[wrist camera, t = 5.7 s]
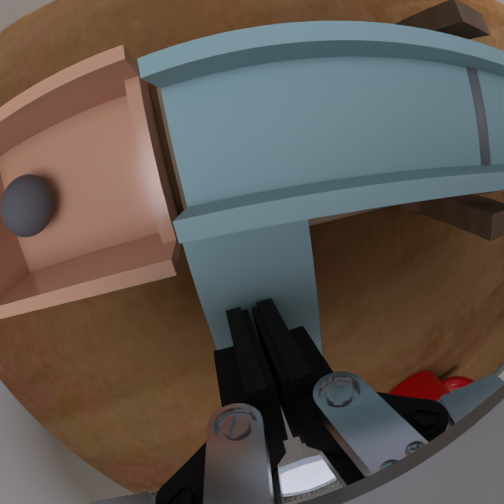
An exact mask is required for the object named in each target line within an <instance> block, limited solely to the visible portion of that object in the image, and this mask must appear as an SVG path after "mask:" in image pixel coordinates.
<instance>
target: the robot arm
mask: <svg viewBox="0 0 504 504" xmlns="http://www.w3.org/2000/svg"><path fill="white" fill-rule="evenodd" d="M256 305H257V306H256V307H252V313H253V317H254V321H255V325H256V329H257V333H258V337H259V340H258V337H257V334H256V332H255V329H254V326H253V323H252V321H251V318H250V315H249V312H248V310H247V309H245V310H241V308H240V307H237V308H233V309H229V310H226V315H227V320H228V324H229V329H230V333H231V337H232V341H233V346H231V347H227V348H223V349H219V350H215V351H214V358H215V365H216V372H217V379H218V385H219V391H220V398H221V404H222V408H220V409H219V410H217V411H216V412H215V413H214V414H213V415H212V417H211V418H210V420H209V423H208V426H207V441H206V442H205V443H204V445H203V446H202V447H201V448H200V449H199V450H198V451H197V452H196V453H195V454H194V455H193V456H192V457H191V458H190V459H189V460H188V461H187V462H186V463H185V464H184V465H183V466H182V467H181V468H180V469H179V470H178V471H177V472H176V473H175V474H174V475H173V476H172V477H171V478H170V479H169V480H168V481H167V482H166V483H165V484H164V485H163V486H162V487H161V488H160V490H159V491H157V492H153V493H151V492H149V491H145V492H141V493H136V494H132V495H127V496H121V497H116V498H110V499H103V500H96V501H93V502H91V503H90V504H284V500H283V492H282V484H281V477H280V469H279V465H278V464H279V463H280V461H281V460H282V458H283V457H284V455H285V454H286V449H285V446H284V442H283V441H285V440H288V436H287V431H286V427H285V423H284V419H283V415H282V411H283V414H284V416H285V419H286V421H287V424H288V427H289V429H290V432H291V434H292V437H293V438H295V437H298V436H299V438H300V440H301V442H302V444H304V443H305V445H306V446H307V447H310V448H313V449H317V450H318V452H319V454H320V456H321V457H322V459H323V460H324V462H325V463H326V464H327V466H328V467H329V469H330V470H331V471H332V473H333V474H334V475H335V477H336V478H337V480H338V481H339V482H340V484H341V485H342V486H343V488H341V489H338V490H336V491H333V492H330V493H328V494H325V495H322V496H319V497H317V498H313V499H310V500H307V501H304V502H301V503H298V504H504V382H503V381H502V380H501V379H500V378H498V377H496V376H486V377H483V378H481V379H479V380H477V381H475V382H473V383H470V384H468V385H466V386H464V387H462V388H459V389H457V390H455V391H452V392H450V393H448V394H445V395H443V396H441V398H440V400H437V401H434V400H430V399H422V398H414V397H406V396H399V395H392V394H386V393H380V392H375V391H374V390H373V389H372V388H371V387H370V386H369V385H368V384H367V383H366V382H365V381H364V380H363V379H362V378H360V377H359V376H357V375H356V374H353V373H350V372H334V373H333V371H332V370H331V368H330V367H329V365H328V364H327V362H326V360H325V359H324V357H323V356H322V354H321V353H320V351H319V350H318V348H317V346H316V345H315V343H314V342H313V340H312V339H311V337H310V335H309V334H308V332H307V331H306V329H305V328H304V327H303V326H300V327H297V328H294V329H291V330H289V329H288V328H287V326H286V324H285V322H284V320H283V319H282V317H281V315H280V313H279V311H278V309H277V308H276V306H275V304H274V302H273V300H272V299H271V298H269V299H266V300H262V301H259V302H256ZM259 341H260V342H259ZM281 408H282V410H281Z"/></svg>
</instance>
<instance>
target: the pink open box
mask: <svg viewBox="0 0 504 504" xmlns="http://www.w3.org/2000/svg"><path fill="white" fill-rule="evenodd" d="M26 174H32V175H36V176H39V177H41V178H42V179H44V180H45V181H46V182H47V183H48V185H49V186H50V188H51V190H52V193H53V197H54V210H53V214H52V217H51V220H50V222H49V223H48V225H47V226H46V227H45V229H44V230H42V231H41V232H40V233H39V234H37V235H35V236H32V237H19V236H16V235H15V234H13V233H11V232H10V231H9V230H8V229H7V227H6V226H5V224H4V222H3V220H2V217H1V211H0V319H2V318H6V317H10V316H14V315H18V314H22V313H26V312H31V311H35V310H39V309H43V308H47V307H51V306H55V305H59V304H63V303H67V302H71V301H76V300H80V299H84V298H88V297H92V296H96V295H100V294H104V293H108V292H112V291H116V290H120V289H124V288H128V287H132V286H136V285H140V284H144V283H148V282H152V281H156V280H160V279H164V278H168V277H172V276H176V275H177V270H178V264H179V259H180V253H181V248H182V243H180V244H179V242H178V238H177V235H176V231H175V228H174V224H173V221H174V220H175V219H176V218H177V217H178V212H177V208H176V204H175V201H174V197H173V193H172V189H171V185H170V181H169V177H168V173H167V168H166V164H165V160H164V155H163V151H162V147H161V142H160V138H159V133H158V128H157V123H156V119H155V114H154V109H153V104H152V98H151V93H150V88H149V82H147V81H145V80H143V79H141V78H140V72H139V66H138V65H137V64H136V62H135V61H134V59H133V58H132V56H131V55H130V54H129V52H128V51H127V49H126V48H125V46H124V45H121V46H118V47H115V48H112V49H110V50H107V51H104V52H102V53H99V54H97V55H94V56H92V57H90V58H87V59H85V60H83V61H81V62H78V63H76V64H74V65H72V66H70V67H68V68H66V69H64V70H62V71H60V72H58V73H56V74H54V75H52V76H50V77H48V78H46V79H45V80H43V81H41V82H39V83H38V84H36V85H34V86H32V87H31V88H29V89H27V90H26V91H24V92H23V93H21V94H19V95H18V96H16V97H15V98H13V99H12V100H10V101H9V102H7V103H6V104H4V105H3V106H2V107H0V206H1V199H2V196H3V193H4V191H5V189H6V188H7V186H8V185H9V184H10V183H11V182H12V181H13V180H14V179H16V178H17V177H19V176H22V175H26Z"/></svg>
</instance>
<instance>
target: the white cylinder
mask: <svg viewBox="0 0 504 504" xmlns="http://www.w3.org/2000/svg"><path fill="white" fill-rule="evenodd" d="M281 410H282V408H281ZM282 415H283V419H284V423H285V427H286V431H287V436H288V440H285V441H283V442H284V446H285V449H286V454H285V455H284V457H283V458H282V460H281V461H280V463H279V464H278V465H279V469H280V477H281V484H282V492H283V497H285V496H293V495H298V494H302V493H306V492H310V491H312V490H315V489H318V488H320V487H323V486H325V485H327V484H329V483H331V482H333V481H335V480H336V479H337V478H336V477H335V475H334V474H333V473H332V471H331V470H330V469H329V467H328V466H327V464H326V463H325V462H324V460H323V459H322V457H321V456H320V454H319V452H318V450H317V449H313V448H310V447H307V446H306V445H305V443H304V444H302V442H301V440H300V438H299V436H298V437H295V438H293V437H292V434H291V432H290V429H289V427H288V424H287V421H286V419H285V416H284V414H283V411H282Z"/></svg>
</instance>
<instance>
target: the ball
mask: <svg viewBox="0 0 504 504" xmlns="http://www.w3.org/2000/svg"><path fill="white" fill-rule="evenodd" d="M53 210H54V197H53V193H52V190H51V188H50V186H49V185H48V183H47V182H46V181H45V180H44V179H42V178H41V177H39V176H36V175H32V174H26V175H22V176H19V177H17V178H16V179H14V180H13V181H12V182H11V183H10V184H9V185H8V186H7V188H6V189H5V191H4V193H3V196H2V199H1V206H0V211H1V217H2V220H3V222H4V224H5V226H6V227H7V229H8V230H9V231H10V232H11V233H13V234H15V235H16V236H19V237H32V236H35V235H37V234H39V233H40V232H41V231H42V230H44V229H45V227H46V226H47V225H48V223H49V222H50V220H51V217H52V214H53Z"/></svg>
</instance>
